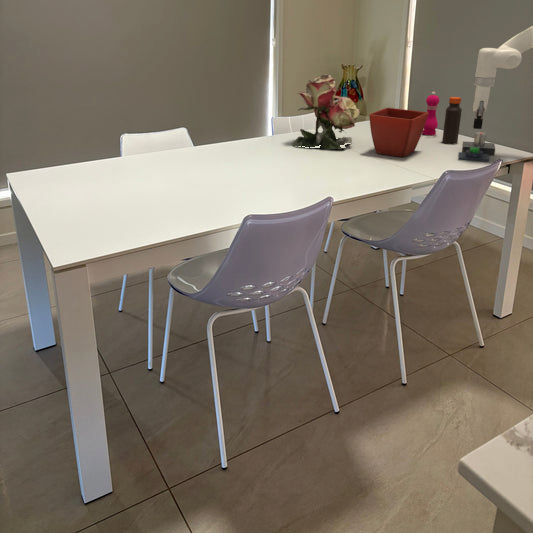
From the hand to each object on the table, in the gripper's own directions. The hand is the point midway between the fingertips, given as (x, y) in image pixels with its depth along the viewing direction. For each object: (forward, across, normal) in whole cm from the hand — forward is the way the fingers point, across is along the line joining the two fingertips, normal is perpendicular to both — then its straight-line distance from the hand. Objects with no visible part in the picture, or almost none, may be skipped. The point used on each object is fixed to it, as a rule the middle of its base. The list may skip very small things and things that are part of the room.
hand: (477, 128), depth 239 cm
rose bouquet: (+13, -10, -64) cm, 66 cm away
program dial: (+9, -12, +2) cm, 16 cm away
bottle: (+13, -26, -10) cm, 31 cm away
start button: (+10, 0, 0) cm, 10 cm away
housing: (+12, 0, 0) cm, 13 cm away
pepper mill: (+13, -41, -20) cm, 47 cm away
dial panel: (+12, -12, +2) cm, 18 cm away
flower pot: (+13, -1, -32) cm, 34 cm away
